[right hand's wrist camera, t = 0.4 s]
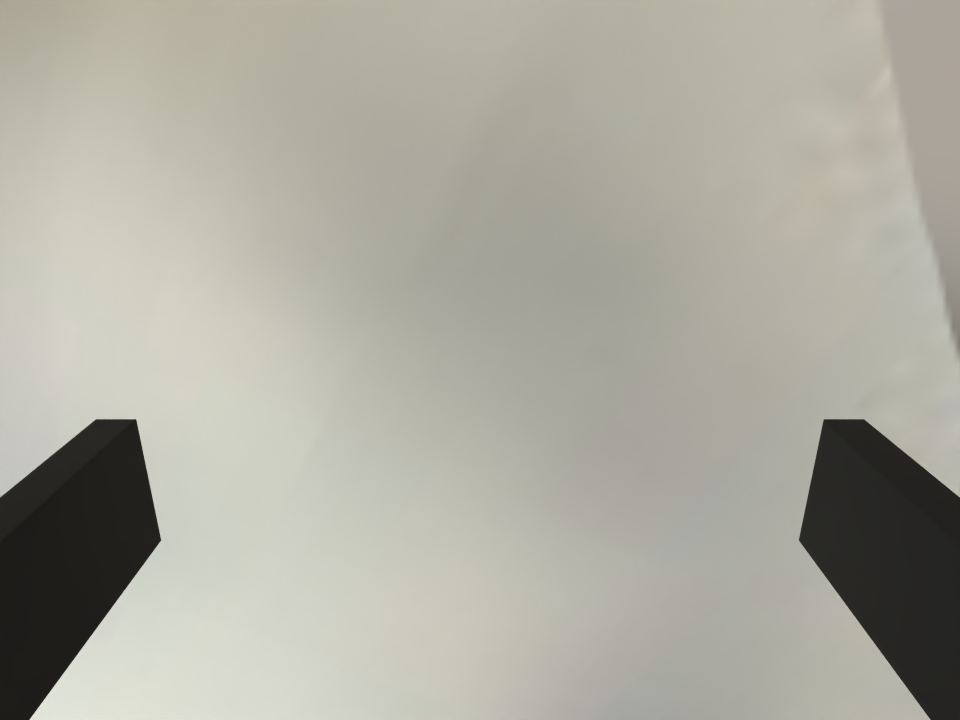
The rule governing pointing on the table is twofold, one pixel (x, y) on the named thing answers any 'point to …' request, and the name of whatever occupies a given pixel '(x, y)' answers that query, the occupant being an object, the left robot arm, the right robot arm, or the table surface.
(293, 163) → the table surface
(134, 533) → the right robot arm
